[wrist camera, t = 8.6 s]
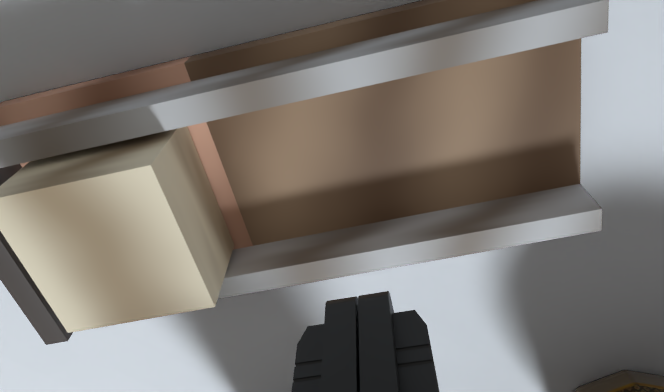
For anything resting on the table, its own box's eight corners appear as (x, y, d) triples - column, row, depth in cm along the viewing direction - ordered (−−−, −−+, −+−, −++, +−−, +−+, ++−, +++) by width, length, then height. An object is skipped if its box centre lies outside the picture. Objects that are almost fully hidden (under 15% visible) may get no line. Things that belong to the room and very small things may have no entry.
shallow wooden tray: (569, -36, 18) (626, -22, 14) (570, 206, 22) (613, 260, 19) (-19, 106, 20) (-93, 147, 17) (93, 294, 25) (54, 356, 22)
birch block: (184, 119, 19) (150, 165, 16) (234, 244, 22) (215, 306, 19) (42, 150, 20) (-19, 201, 17) (108, 268, 23) (68, 333, 20)
